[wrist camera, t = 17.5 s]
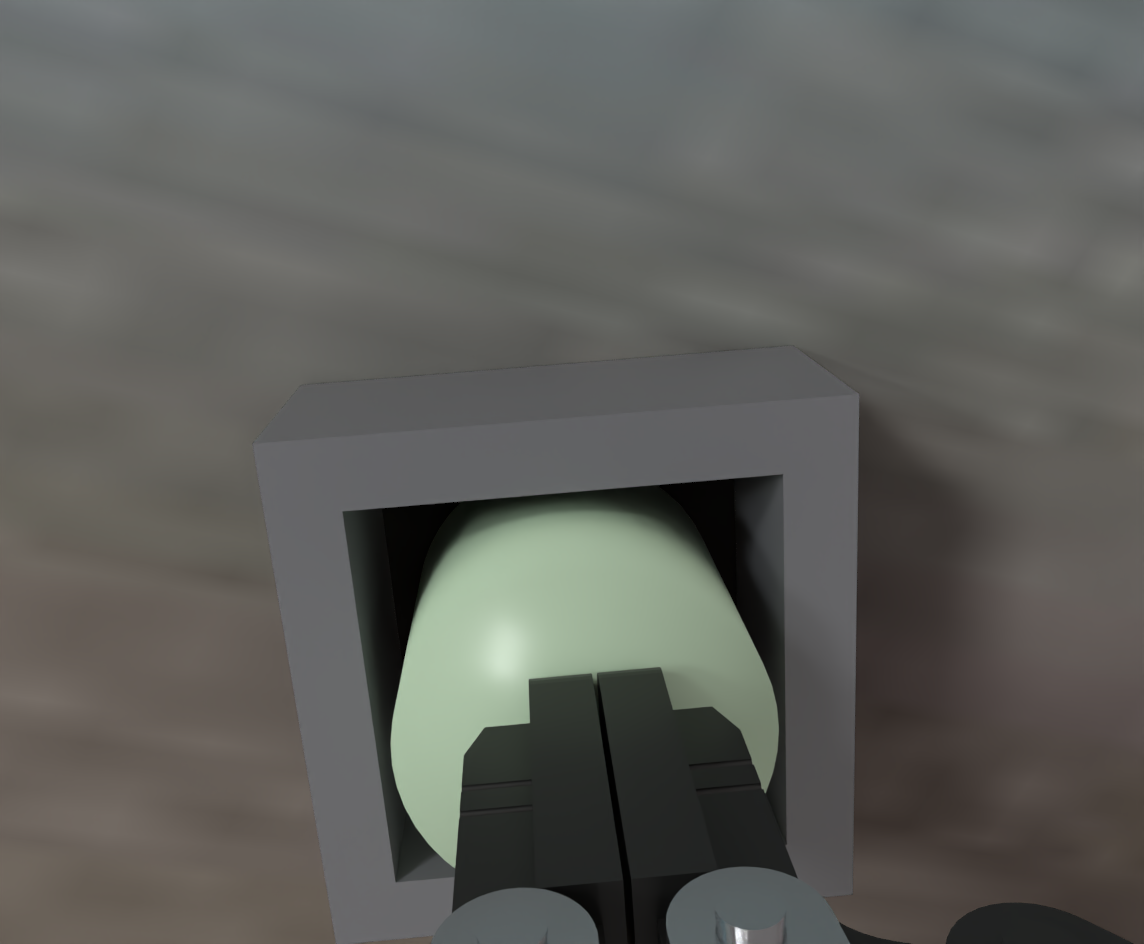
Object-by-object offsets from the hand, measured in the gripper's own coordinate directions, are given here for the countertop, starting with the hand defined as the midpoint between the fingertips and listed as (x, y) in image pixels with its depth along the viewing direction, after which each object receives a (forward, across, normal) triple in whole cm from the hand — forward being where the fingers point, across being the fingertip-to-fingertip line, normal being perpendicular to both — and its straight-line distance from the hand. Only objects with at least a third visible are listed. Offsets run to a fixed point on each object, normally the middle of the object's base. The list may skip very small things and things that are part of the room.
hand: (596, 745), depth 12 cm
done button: (+4, 0, 0) cm, 4 cm away
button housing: (+4, 0, 0) cm, 4 cm away
